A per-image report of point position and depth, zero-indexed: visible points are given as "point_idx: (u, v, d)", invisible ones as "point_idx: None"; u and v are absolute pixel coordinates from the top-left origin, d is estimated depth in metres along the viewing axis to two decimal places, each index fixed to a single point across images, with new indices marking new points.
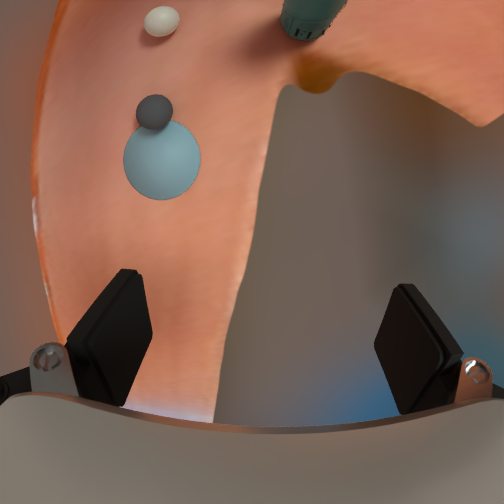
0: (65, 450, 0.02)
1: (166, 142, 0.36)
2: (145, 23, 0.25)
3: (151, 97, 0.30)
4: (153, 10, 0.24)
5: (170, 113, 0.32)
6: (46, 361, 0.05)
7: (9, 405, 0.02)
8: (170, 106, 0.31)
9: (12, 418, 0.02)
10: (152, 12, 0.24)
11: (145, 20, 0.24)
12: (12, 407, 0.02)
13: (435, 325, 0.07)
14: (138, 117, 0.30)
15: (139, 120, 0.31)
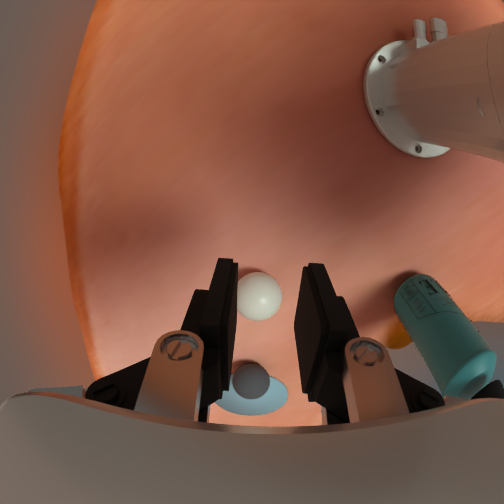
0: (65, 450, 0.02)
1: None
2: (239, 310, 0.27)
3: (252, 381, 0.32)
4: (251, 298, 0.26)
5: (269, 385, 0.34)
6: (175, 350, 0.06)
7: (9, 405, 0.02)
8: (269, 381, 0.34)
9: (12, 418, 0.02)
10: (250, 304, 0.26)
11: (239, 307, 0.27)
12: (12, 407, 0.02)
13: (326, 301, 0.08)
14: (238, 394, 0.33)
15: (239, 395, 0.33)
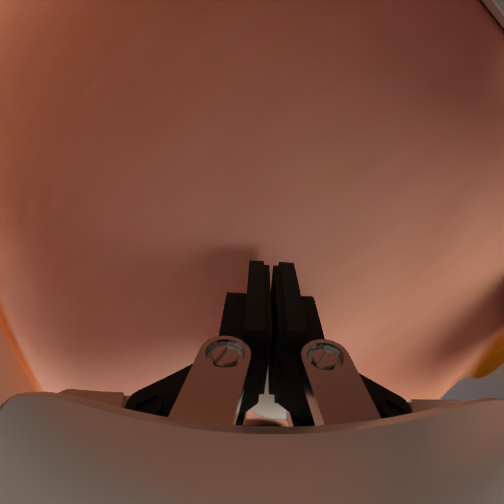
0: (65, 450, 0.02)
1: None
2: None
3: None
4: (268, 395, 0.10)
5: None
6: (221, 357, 0.06)
7: (9, 405, 0.02)
8: None
9: (12, 418, 0.02)
10: (266, 405, 0.10)
11: None
12: (12, 407, 0.02)
13: (289, 301, 0.08)
14: None
15: None
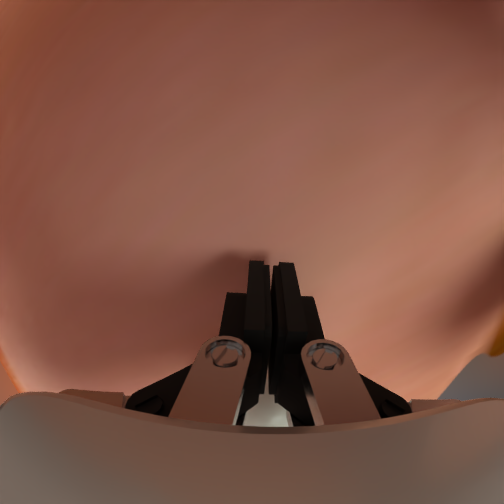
0: (65, 450, 0.02)
1: None
2: None
3: None
4: None
5: None
6: (221, 357, 0.06)
7: (9, 405, 0.02)
8: None
9: (12, 418, 0.02)
10: None
11: None
12: (12, 407, 0.02)
13: (289, 301, 0.08)
14: None
15: None
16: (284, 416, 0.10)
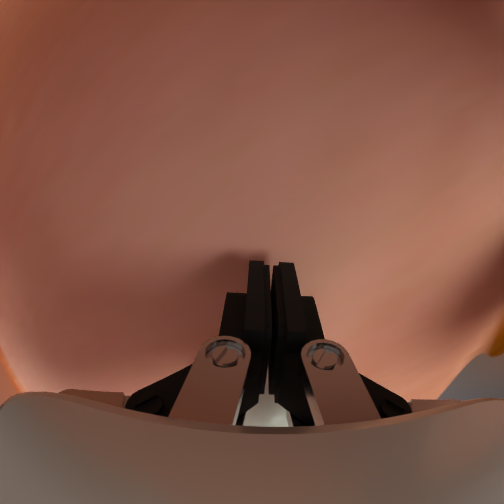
0: (65, 450, 0.02)
1: None
2: None
3: None
4: None
5: None
6: (221, 357, 0.06)
7: (9, 405, 0.02)
8: None
9: (12, 418, 0.02)
10: None
11: None
12: (12, 407, 0.02)
13: (289, 301, 0.08)
14: None
15: None
16: (284, 416, 0.10)
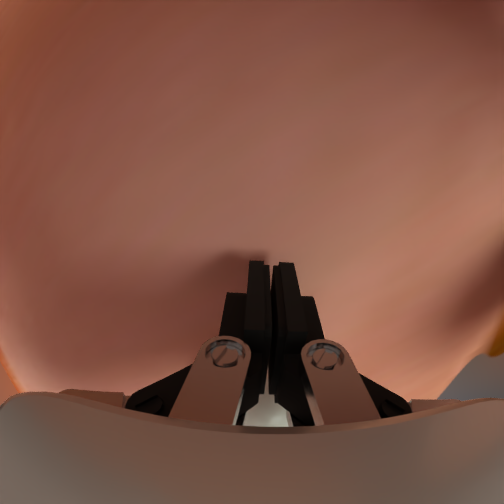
0: (65, 450, 0.02)
1: None
2: None
3: None
4: None
5: None
6: (221, 357, 0.06)
7: (9, 405, 0.02)
8: None
9: (12, 418, 0.02)
10: None
11: None
12: (12, 407, 0.02)
13: (289, 301, 0.08)
14: None
15: None
16: (283, 416, 0.10)
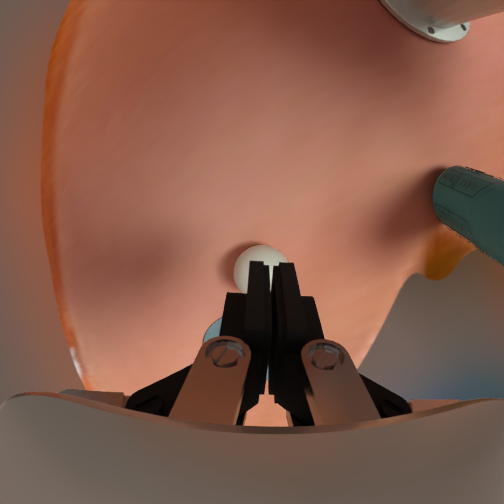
0: (65, 450, 0.02)
1: None
2: None
3: None
4: None
5: None
6: (221, 357, 0.06)
7: (9, 405, 0.02)
8: None
9: (12, 418, 0.02)
10: None
11: None
12: (12, 407, 0.02)
13: (288, 301, 0.08)
14: None
15: None
16: None
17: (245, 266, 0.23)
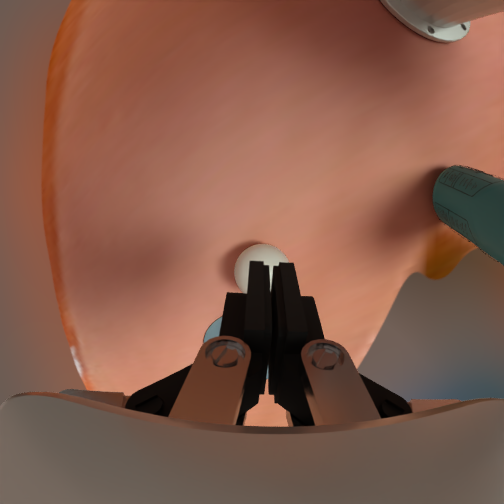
0: (65, 450, 0.02)
1: None
2: None
3: None
4: None
5: None
6: (221, 357, 0.06)
7: (9, 405, 0.02)
8: None
9: (12, 418, 0.02)
10: None
11: None
12: (12, 407, 0.02)
13: (289, 301, 0.08)
14: None
15: None
16: None
17: (245, 265, 0.23)
